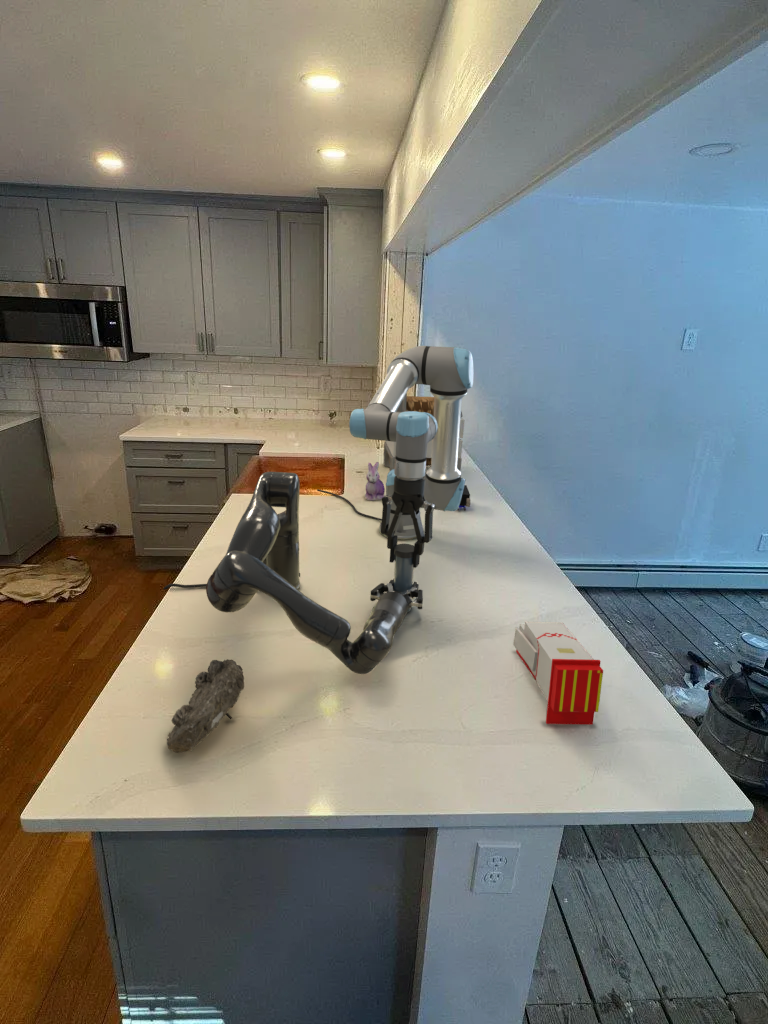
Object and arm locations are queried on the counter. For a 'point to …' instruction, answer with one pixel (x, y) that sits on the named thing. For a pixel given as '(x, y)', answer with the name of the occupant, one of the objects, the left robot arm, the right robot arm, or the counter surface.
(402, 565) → the jar
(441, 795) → the counter surface
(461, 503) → the figurine character
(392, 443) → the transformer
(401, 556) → the lid
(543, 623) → the toy
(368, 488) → the figurine
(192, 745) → the fossil
